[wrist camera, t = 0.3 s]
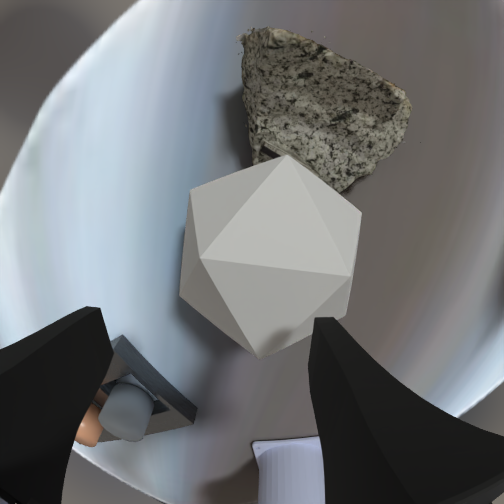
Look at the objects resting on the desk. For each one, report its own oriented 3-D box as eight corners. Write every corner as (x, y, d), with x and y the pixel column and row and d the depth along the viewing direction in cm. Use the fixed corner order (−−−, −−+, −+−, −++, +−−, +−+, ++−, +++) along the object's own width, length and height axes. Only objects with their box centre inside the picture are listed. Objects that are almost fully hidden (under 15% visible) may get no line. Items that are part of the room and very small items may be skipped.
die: (274, 305, 21) (388, 359, 13) (150, 308, 17) (222, 410, 8) (290, 186, 20) (419, 185, 12) (164, 162, 16) (258, 115, 7)
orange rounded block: (85, 395, 23) (71, 420, 19) (114, 420, 24) (103, 446, 21) (68, 401, 24) (55, 424, 20) (94, 425, 25) (83, 447, 22)
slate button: (131, 378, 21) (116, 409, 18) (163, 408, 22) (152, 438, 19) (104, 388, 22) (89, 416, 19) (134, 415, 23) (123, 443, 20)
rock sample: (196, 213, 14) (295, 73, 7) (197, 105, 16) (262, -13, 9) (353, 234, 19) (464, 170, 11) (329, 141, 21) (409, 70, 14)
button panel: (122, 334, 22) (113, 349, 20) (197, 408, 25) (193, 424, 23) (31, 384, 27) (24, 394, 25) (85, 433, 29) (80, 444, 28)
